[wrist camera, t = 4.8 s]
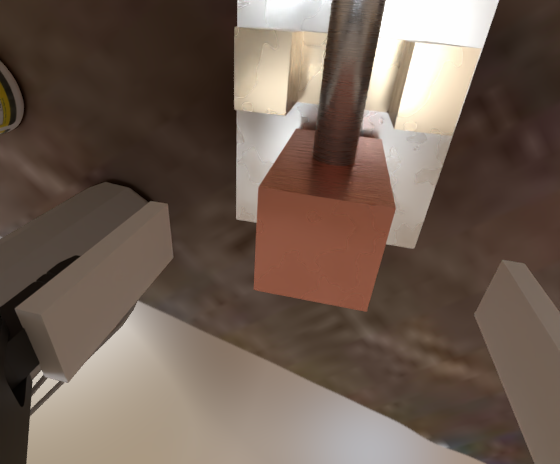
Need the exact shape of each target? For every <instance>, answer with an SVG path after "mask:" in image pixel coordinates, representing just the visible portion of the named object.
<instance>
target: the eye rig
mask: <svg viewBox="0 0 560 464" xmlns="http://www.w3.org/2000/svg"><path fill="white" fill-rule="evenodd" d="M498 2H499V0H386V3H385V8H384V13H383V18H382V23H381V29H380V34H379V39H378V44H377V49H376V54H375V59H374V64H373V69H372V74H371V80H370V85H369V90H368V95H367V100H366V105H365V110H364V115H363V120H362V125H361V131H360V136H361V137H368V138H376V139H382V143H383V148H384V153H385V158H386V163H387V168H388V172H389V177H390V182H391V187H392V192H393V197H394V202H395V206H396V210H395V214H394V217H393V221H392V224H391V228H390V231H389V235H388V238H387V242H386V244H388V245H394V246H400V247H406V248H412V249H414V248H415V245H416V242H417V239H418V236H419V233H420V230H421V228H422V225H423V222H424V219H425V216H426V213H427V210H428V207H429V204H430V201H431V198H432V195H433V192H434V189H435V186H436V184H437V181H438V178H439V175H440V172H441V169H442V166H443V163H444V160H445V157H446V154H447V151H448V148H449V145H450V142H451V140H452V137H453V134H454V131H455V128H456V125H457V122H458V119H459V116H460V113H461V110H462V107H463V104H464V101H465V98H466V96H467V93H468V90H469V87H470V84H471V81H472V78H473V75H474V72H475V69H476V66H477V63H478V60H479V57H480V54H481V52H482V49H483V46H484V43H485V40H486V37H487V34H488V31H489V28H490V25H491V22H492V19H493V16H494V13H495V10H496V8H497V5H498ZM331 4H332V0H237V27H234V110H237V158H236V219H238V220H244V221H250V222H256V223H257V203H258V187H259V185H260V184H261V182H262V181H263V179H264V178H265V176H266V175H267V173H268V171H269V170H270V168H271V167H272V165H273V164H274V162H275V161H276V159H277V157H278V156H279V154H280V153H281V151H282V150H283V148H284V147H285V145H286V143H287V142H288V140H289V139H290V137H291V136H292V134H293V133H294V131H295V129H296V128H297V129H305V130H313V131H315V130H316V122H317V114H318V106H319V99H320V91H321V83H322V75H323V67H324V59H325V51H326V43H327V36H328V28H329V20H330V12H331Z"/></svg>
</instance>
